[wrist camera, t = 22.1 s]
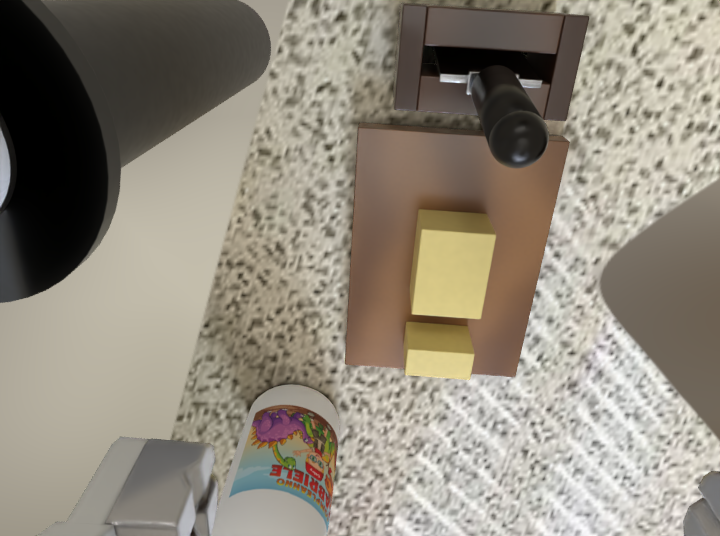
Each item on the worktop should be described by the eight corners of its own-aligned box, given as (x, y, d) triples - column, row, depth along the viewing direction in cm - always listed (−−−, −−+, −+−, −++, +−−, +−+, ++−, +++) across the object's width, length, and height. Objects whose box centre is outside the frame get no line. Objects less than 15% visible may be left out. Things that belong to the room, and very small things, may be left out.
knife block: (393, 91, 34) (394, 110, 28) (400, 2, 31) (402, 3, 26) (538, 101, 34) (566, 121, 28) (555, 12, 31) (590, 16, 26)
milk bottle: (312, 463, 48) (268, 738, 30) (235, 426, 47) (140, 693, 29) (357, 407, 45) (337, 676, 27) (276, 366, 44) (198, 622, 26)
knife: (429, 62, 33) (450, 173, 20) (434, 23, 32) (459, 116, 19) (512, 68, 33) (584, 183, 20) (520, 29, 32) (602, 126, 19)
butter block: (409, 288, 38) (411, 314, 35) (418, 208, 36) (421, 229, 32) (473, 293, 38) (480, 319, 35) (487, 213, 35) (496, 234, 32)
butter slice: (403, 346, 40) (404, 375, 37) (406, 321, 39) (407, 349, 36) (463, 350, 40) (470, 380, 37) (468, 325, 39) (475, 354, 36)
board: (346, 353, 43) (344, 364, 41) (359, 122, 35) (358, 127, 33) (511, 365, 43) (515, 377, 41) (563, 136, 34) (570, 141, 33)
